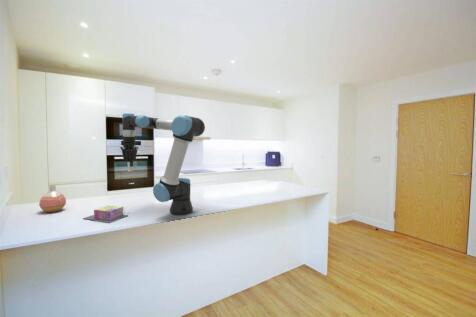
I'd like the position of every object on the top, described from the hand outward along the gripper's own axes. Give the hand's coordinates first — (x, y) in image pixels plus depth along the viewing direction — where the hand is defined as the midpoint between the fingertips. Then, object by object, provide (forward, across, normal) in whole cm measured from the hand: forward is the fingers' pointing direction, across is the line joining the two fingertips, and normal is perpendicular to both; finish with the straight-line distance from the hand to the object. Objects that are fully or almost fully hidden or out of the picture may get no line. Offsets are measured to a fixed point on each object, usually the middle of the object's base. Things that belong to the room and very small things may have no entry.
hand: (130, 171), depth 154 cm
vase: (+26, +46, +18) cm, 56 cm away
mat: (+27, +3, +18) cm, 32 cm away
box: (+23, +6, +19) cm, 31 cm away
